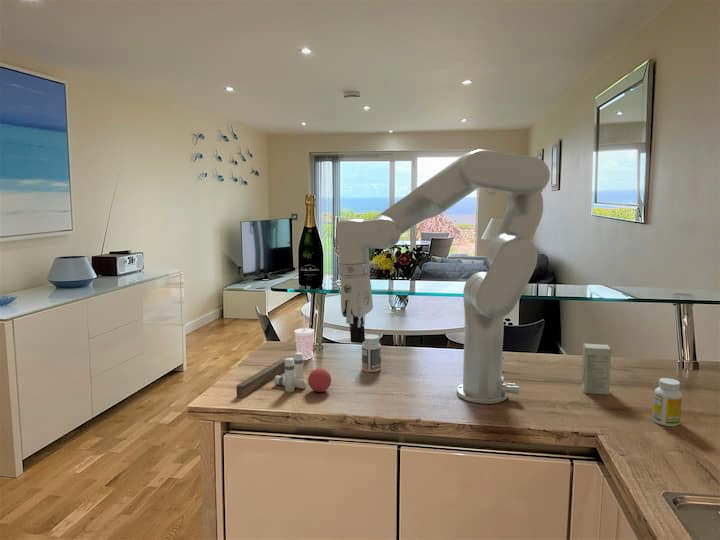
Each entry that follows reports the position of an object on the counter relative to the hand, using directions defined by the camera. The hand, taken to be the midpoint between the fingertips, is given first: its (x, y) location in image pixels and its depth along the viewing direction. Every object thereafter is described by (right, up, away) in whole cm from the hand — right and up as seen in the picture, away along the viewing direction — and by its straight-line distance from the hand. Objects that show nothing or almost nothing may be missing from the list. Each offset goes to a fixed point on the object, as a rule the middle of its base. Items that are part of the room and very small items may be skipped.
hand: (357, 341), depth 129 cm
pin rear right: (-16, -13, +11) cm, 23 cm away
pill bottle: (+4, -11, +22) cm, 25 cm away
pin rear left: (-18, -14, +6) cm, 23 cm away
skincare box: (+62, -14, +5) cm, 63 cm away
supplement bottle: (+69, -16, -13) cm, 73 cm away
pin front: (-14, -12, +7) cm, 20 cm away
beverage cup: (-17, -10, +32) cm, 38 cm away
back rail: (-26, -13, +12) cm, 31 cm away
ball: (-10, -11, +5) cm, 16 cm away
